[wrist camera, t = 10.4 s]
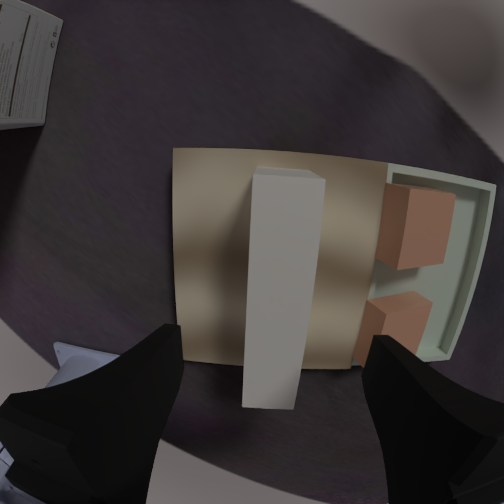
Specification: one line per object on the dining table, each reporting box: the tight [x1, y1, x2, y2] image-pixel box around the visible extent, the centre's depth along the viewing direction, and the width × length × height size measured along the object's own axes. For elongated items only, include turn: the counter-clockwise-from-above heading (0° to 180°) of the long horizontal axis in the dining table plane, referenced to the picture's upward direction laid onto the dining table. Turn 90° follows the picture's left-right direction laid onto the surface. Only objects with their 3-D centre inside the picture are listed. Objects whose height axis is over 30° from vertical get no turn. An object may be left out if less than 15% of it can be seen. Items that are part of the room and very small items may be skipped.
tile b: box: [375, 183, 456, 270], centre depth 17 cm, size 4×4×2 cm
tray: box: [352, 163, 496, 365], centre depth 19 cm, size 14×9×2 cm, turn 177°
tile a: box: [353, 291, 433, 368], centre depth 19 cm, size 4×4×2 cm
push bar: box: [242, 167, 326, 409], centre depth 16 cm, size 12×3×5 cm, turn 177°
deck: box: [173, 148, 388, 369], centre depth 19 cm, size 14×12×2 cm
